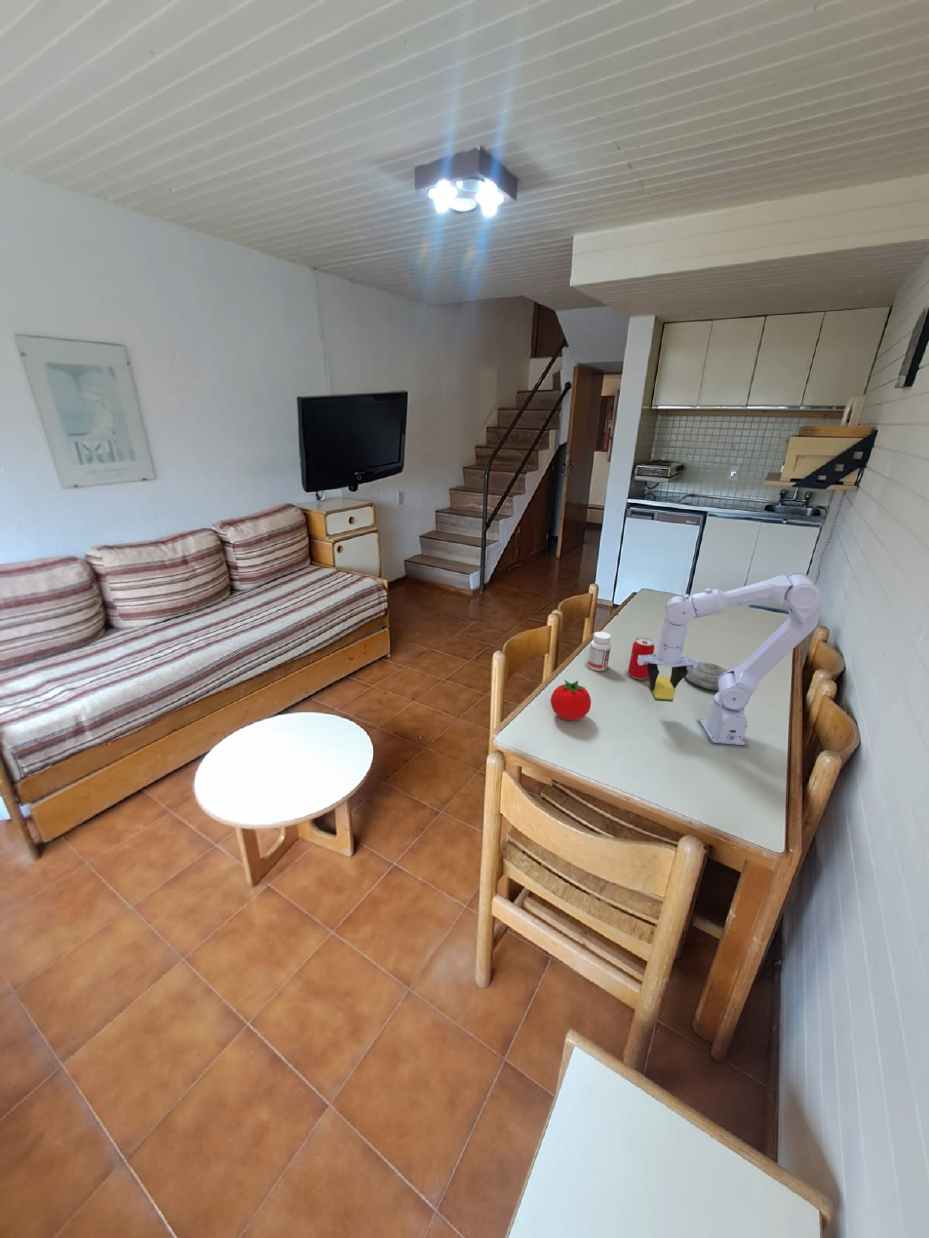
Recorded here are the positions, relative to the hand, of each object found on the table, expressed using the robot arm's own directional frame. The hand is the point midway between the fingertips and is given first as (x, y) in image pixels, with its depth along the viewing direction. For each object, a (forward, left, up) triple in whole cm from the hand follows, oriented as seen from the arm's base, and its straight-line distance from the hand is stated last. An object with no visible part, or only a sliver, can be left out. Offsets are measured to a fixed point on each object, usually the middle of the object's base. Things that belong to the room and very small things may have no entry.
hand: (661, 689), depth 130 cm
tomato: (-4, +24, -9) cm, 25 cm away
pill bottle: (+26, +12, -9) cm, 30 cm away
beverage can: (+22, 0, -9) cm, 24 cm away
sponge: (0, 0, -1) cm, 1 cm away
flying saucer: (+22, -21, -9) cm, 32 cm away
